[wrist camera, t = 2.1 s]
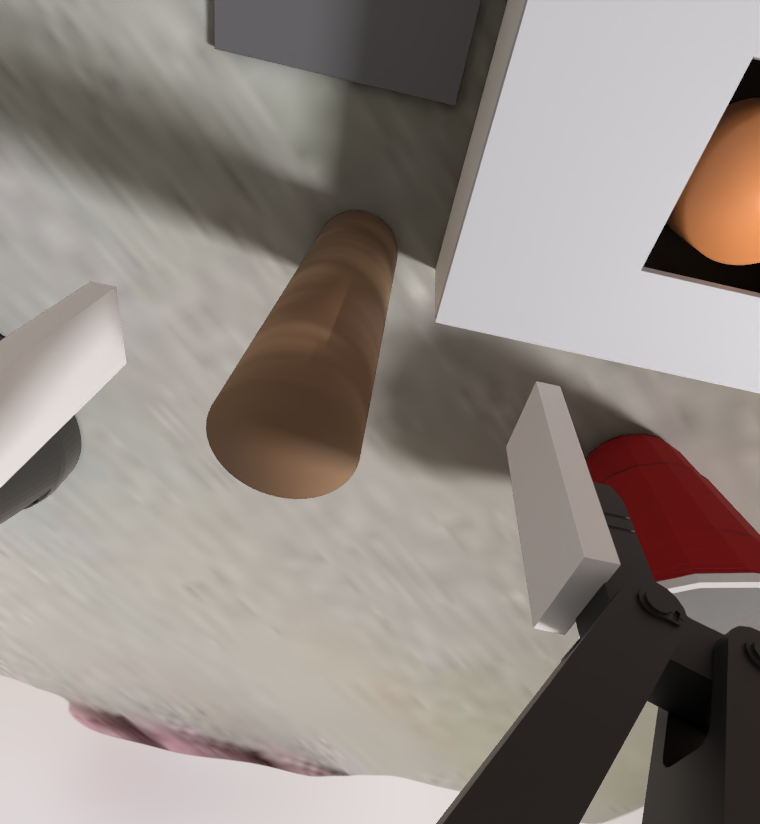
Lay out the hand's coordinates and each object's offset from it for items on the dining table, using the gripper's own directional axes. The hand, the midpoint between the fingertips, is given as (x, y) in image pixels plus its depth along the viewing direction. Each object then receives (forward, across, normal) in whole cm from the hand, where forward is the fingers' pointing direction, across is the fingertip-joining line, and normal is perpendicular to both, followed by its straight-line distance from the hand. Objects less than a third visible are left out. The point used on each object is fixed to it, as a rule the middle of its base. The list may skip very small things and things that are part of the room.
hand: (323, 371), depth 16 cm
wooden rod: (+11, 0, 0) cm, 11 cm away
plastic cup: (+12, +18, -10) cm, 24 cm away
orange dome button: (+9, +14, +7) cm, 18 cm away
